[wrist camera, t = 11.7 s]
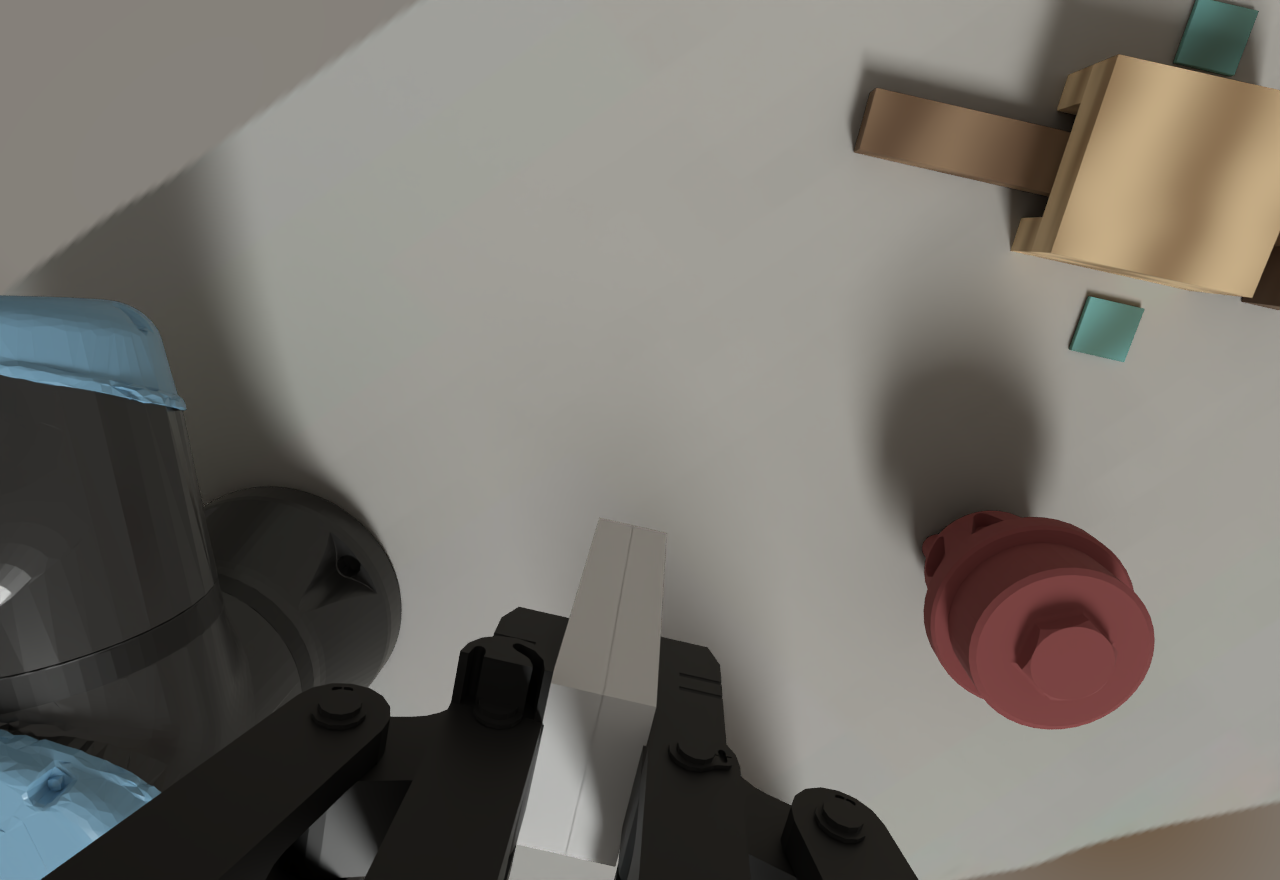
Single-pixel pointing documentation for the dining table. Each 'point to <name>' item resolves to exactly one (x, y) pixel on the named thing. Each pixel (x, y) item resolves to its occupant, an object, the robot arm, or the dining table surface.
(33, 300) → the robot arm
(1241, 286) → the light wooden box
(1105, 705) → the mechanical component
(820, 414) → the dining table surface
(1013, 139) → the wooden block assembly
